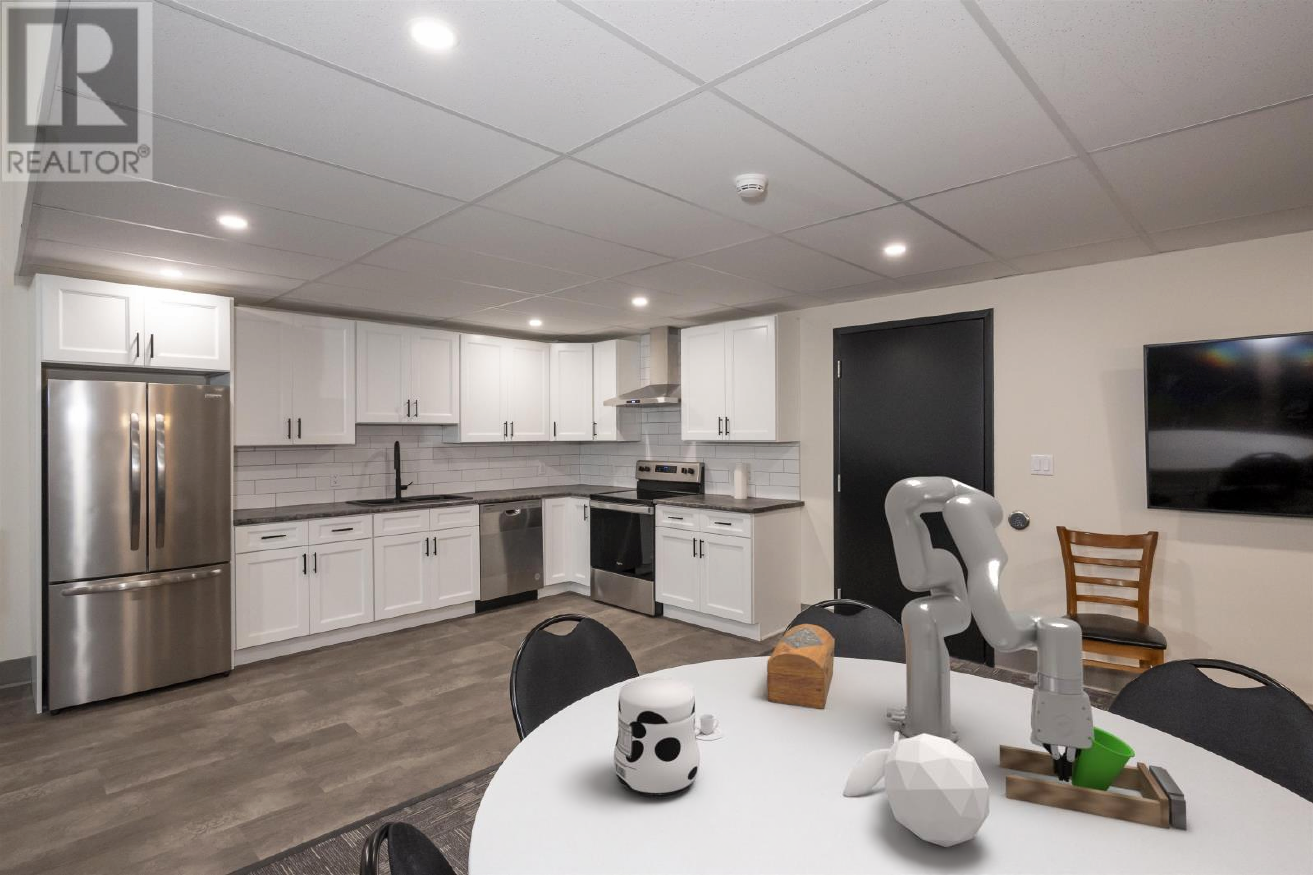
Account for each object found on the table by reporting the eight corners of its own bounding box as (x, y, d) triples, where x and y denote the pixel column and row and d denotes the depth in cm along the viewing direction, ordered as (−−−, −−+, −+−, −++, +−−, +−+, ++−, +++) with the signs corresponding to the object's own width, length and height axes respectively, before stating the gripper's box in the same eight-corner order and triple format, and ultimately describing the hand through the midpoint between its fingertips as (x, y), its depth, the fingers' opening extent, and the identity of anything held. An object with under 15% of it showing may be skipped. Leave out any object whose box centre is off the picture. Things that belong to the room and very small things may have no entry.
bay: (1006, 797, 123) (1006, 769, 123) (999, 763, 136) (999, 738, 136) (1189, 832, 112) (1188, 801, 112) (1162, 791, 125) (1161, 763, 125)
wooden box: (781, 666, 198) (780, 620, 199) (836, 672, 192) (836, 626, 193) (761, 701, 170) (760, 649, 171) (824, 710, 164) (824, 656, 165)
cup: (1124, 812, 120) (1147, 761, 118) (1078, 800, 120) (1100, 748, 118) (1092, 780, 129) (1113, 731, 127) (1049, 768, 129) (1070, 719, 127)
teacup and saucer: (681, 738, 149) (681, 720, 149) (693, 724, 157) (693, 707, 157) (718, 744, 146) (718, 726, 146) (727, 730, 153) (727, 713, 153)
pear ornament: (973, 741, 103) (898, 680, 131) (862, 828, 101) (810, 747, 129) (1033, 824, 103) (945, 745, 131) (922, 912, 102) (858, 813, 129)
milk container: (709, 767, 135) (709, 681, 135) (685, 811, 118) (685, 712, 119) (632, 754, 140) (632, 671, 141) (599, 794, 124) (599, 700, 124)
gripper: (1018, 684, 125) (1021, 779, 125) (1110, 695, 119) (1113, 795, 119) (1014, 672, 132) (1017, 763, 132) (1101, 682, 126) (1104, 777, 125)
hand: (1062, 778), depth 125 cm, fingers closed
